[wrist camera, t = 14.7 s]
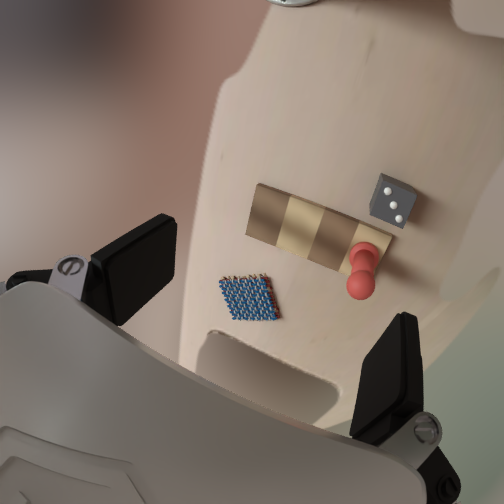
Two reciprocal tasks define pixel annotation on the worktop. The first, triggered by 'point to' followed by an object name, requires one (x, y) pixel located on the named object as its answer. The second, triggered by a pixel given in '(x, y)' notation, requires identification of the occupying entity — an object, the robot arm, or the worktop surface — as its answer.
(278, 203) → the board
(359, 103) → the worktop surface
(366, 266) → the pawn
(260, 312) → the woven mat
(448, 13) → the worktop surface
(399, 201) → the die
